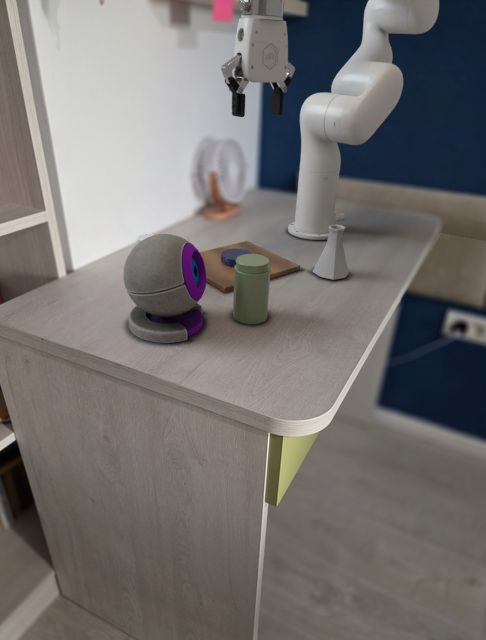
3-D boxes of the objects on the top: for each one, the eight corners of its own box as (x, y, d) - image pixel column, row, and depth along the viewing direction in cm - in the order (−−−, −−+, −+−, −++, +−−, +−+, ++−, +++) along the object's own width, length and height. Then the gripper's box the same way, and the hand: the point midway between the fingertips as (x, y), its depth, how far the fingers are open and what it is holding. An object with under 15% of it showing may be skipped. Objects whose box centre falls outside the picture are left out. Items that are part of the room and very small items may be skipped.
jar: (246, 305, 90) (248, 250, 84) (273, 315, 87) (278, 259, 82) (225, 317, 86) (227, 260, 80) (254, 328, 83) (257, 269, 77)
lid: (240, 270, 101) (240, 262, 100) (214, 262, 104) (214, 254, 103) (259, 261, 106) (259, 253, 105) (234, 253, 109) (234, 246, 108)
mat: (246, 244, 117) (246, 240, 116) (300, 269, 105) (300, 265, 104) (173, 262, 106) (173, 258, 105) (224, 292, 94) (224, 287, 93)
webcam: (194, 347, 77) (192, 255, 69) (115, 337, 78) (105, 246, 70) (213, 310, 88) (214, 227, 80) (144, 301, 89) (138, 219, 81)
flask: (327, 264, 108) (333, 219, 103) (354, 274, 104) (362, 227, 99) (306, 272, 104) (311, 225, 99) (334, 283, 100) (341, 235, 94)
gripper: (237, 6, 82) (234, 119, 91) (311, 13, 91) (302, 115, 100) (211, 7, 87) (210, 114, 96) (283, 13, 96) (277, 111, 105)
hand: (257, 115), depth 98 cm, fingers open, 9 cm apart
